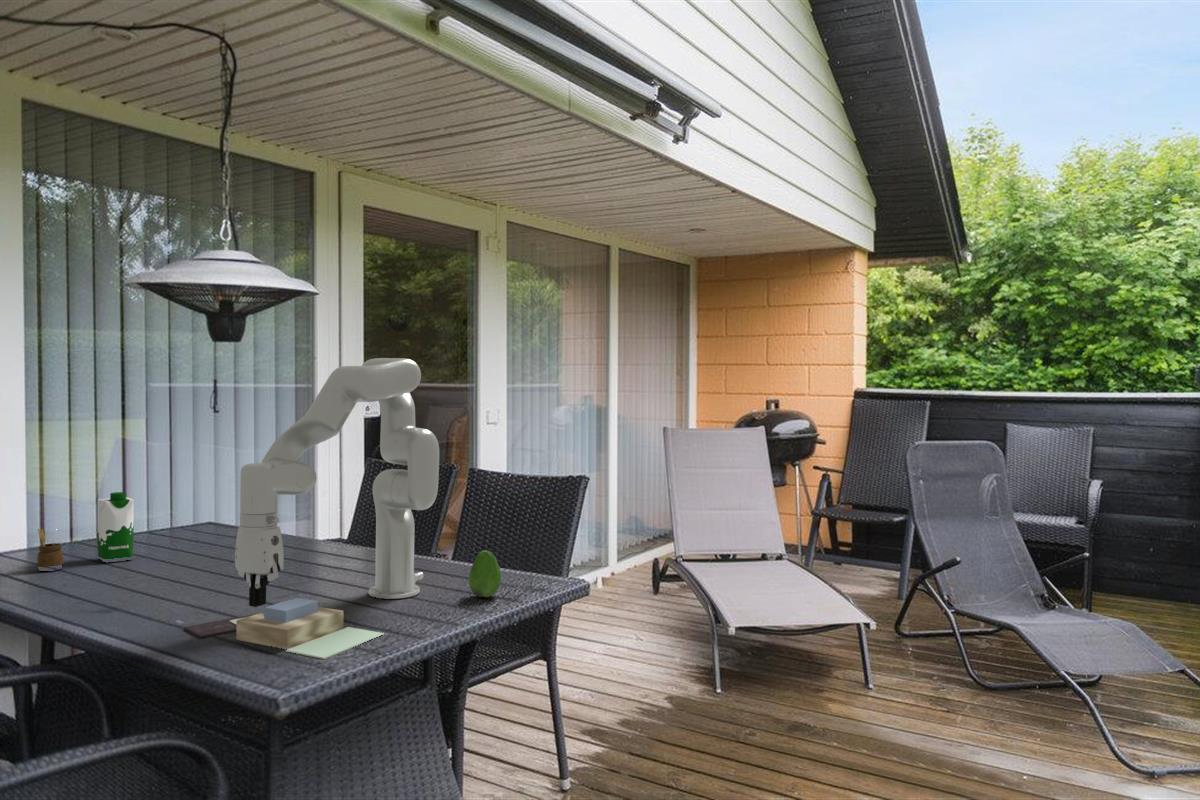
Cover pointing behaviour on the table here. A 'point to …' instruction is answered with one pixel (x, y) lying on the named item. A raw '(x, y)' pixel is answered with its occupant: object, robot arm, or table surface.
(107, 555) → the milk carton
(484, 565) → the avocado
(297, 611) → the blue-grey foam block
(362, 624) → the table surface
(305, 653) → the mat
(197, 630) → the chocolate bar
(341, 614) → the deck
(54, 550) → the utensil holder
